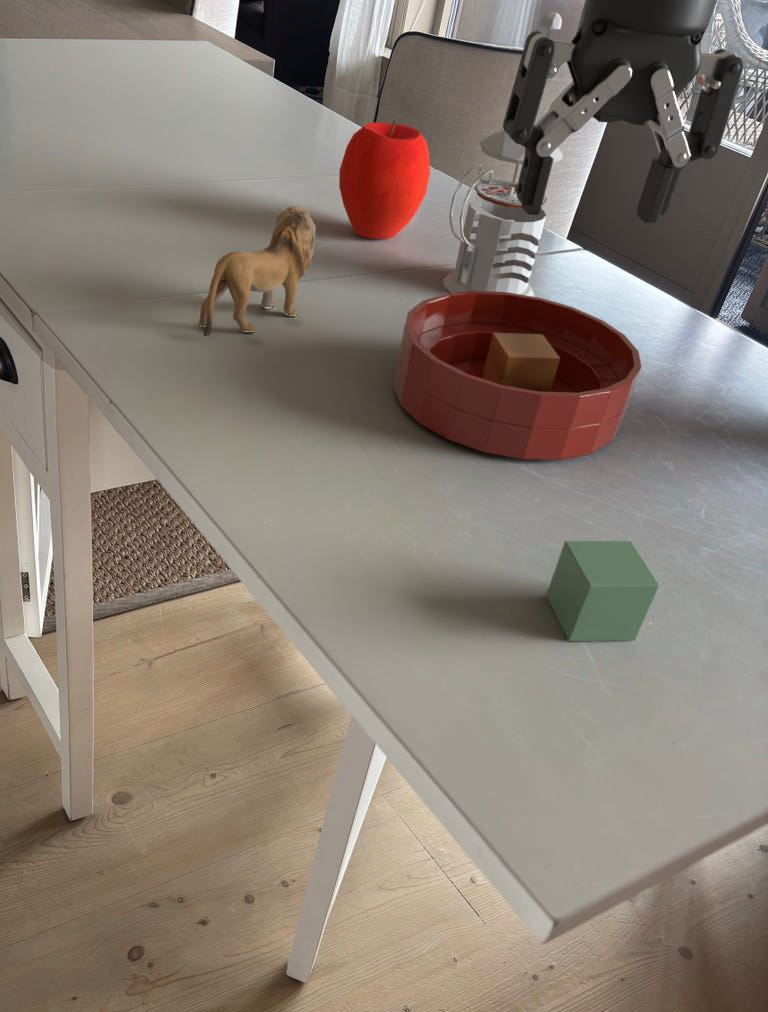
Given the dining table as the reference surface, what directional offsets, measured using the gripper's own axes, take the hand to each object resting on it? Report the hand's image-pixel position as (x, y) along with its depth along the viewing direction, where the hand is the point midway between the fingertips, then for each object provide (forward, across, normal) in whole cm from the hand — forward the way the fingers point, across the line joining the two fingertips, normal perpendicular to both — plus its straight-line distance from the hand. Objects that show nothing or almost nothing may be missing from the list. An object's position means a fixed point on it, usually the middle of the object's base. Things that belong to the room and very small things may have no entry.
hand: (588, 215), depth 68 cm
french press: (+18, +4, +31) cm, 36 cm away
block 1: (+17, +1, +6) cm, 18 cm away
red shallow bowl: (+18, 0, +6) cm, 18 cm away
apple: (+18, -5, +44) cm, 48 cm away
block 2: (+18, -2, -23) cm, 29 cm away
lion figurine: (+18, -20, +21) cm, 34 cm away
